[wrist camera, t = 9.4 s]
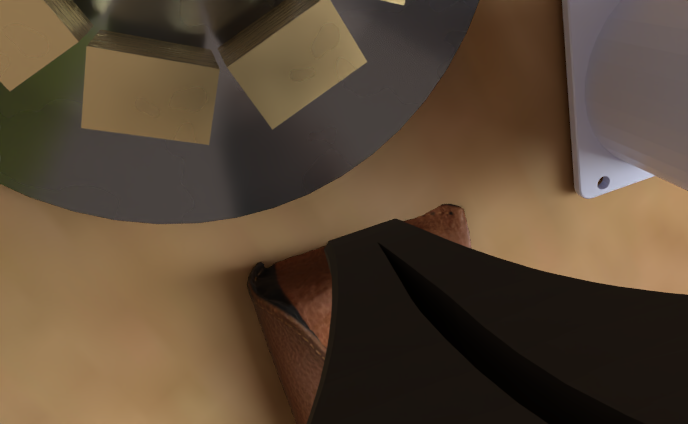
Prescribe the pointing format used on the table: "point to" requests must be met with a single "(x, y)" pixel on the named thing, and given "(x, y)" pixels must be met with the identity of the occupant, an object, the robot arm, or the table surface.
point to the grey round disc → (222, 115)
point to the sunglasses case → (316, 308)
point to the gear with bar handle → (182, 66)
